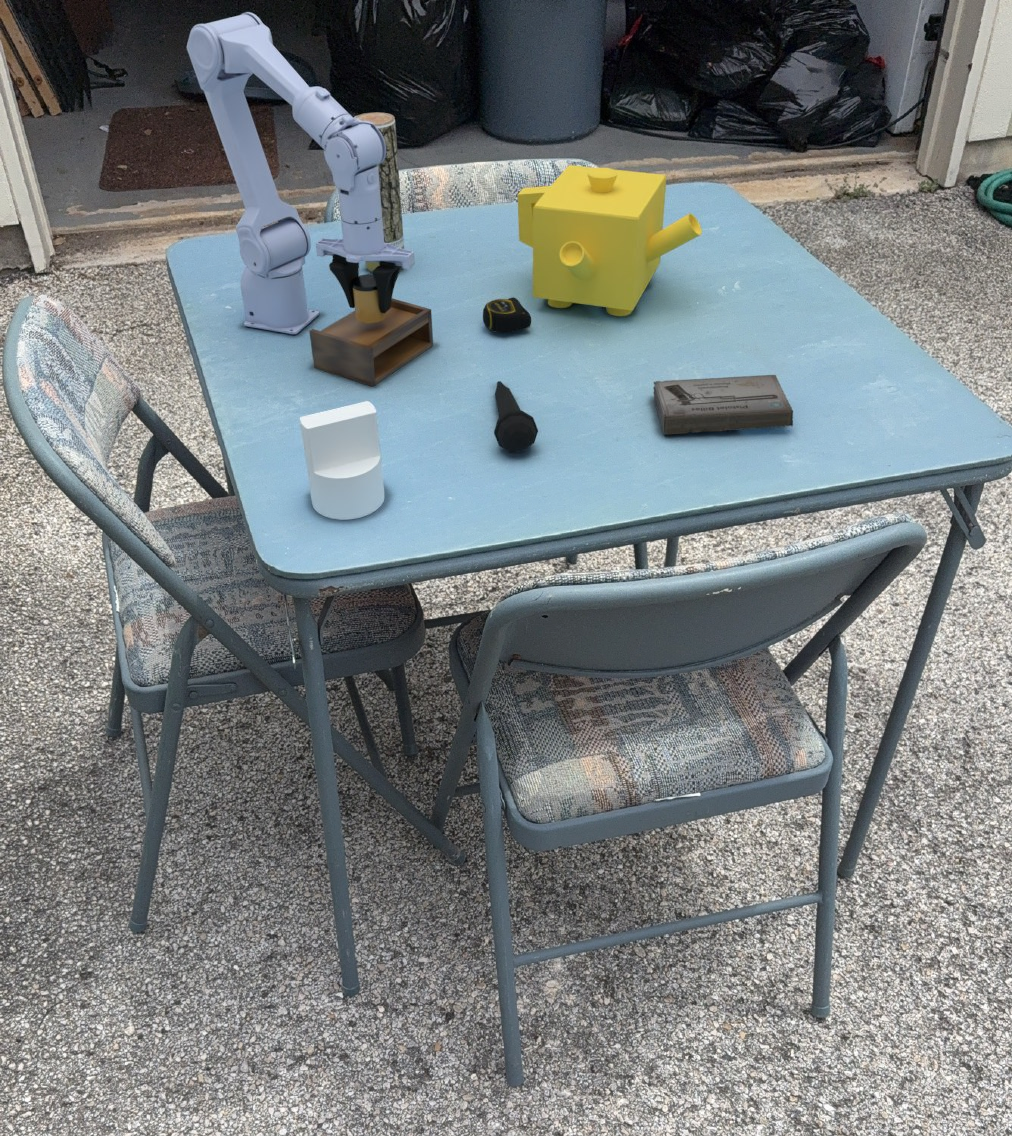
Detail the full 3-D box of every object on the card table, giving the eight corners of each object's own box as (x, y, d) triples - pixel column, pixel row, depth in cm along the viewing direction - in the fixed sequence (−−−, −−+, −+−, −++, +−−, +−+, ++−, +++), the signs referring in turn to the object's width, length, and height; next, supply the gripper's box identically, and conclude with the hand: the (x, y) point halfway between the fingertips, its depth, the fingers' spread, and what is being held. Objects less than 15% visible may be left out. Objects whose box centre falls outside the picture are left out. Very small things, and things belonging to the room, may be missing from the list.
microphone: (488, 407, 164) (506, 466, 147) (474, 372, 161) (491, 429, 144) (523, 393, 164) (546, 451, 147) (510, 358, 161) (531, 413, 144)
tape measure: (532, 334, 176) (533, 311, 173) (490, 340, 174) (490, 318, 172) (518, 315, 181) (518, 293, 178) (477, 322, 179) (477, 299, 177)
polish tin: (349, 321, 165) (345, 285, 162) (363, 308, 169) (360, 272, 165) (378, 325, 164) (374, 289, 161) (391, 312, 168) (388, 276, 164)
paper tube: (413, 265, 197) (403, 116, 181) (389, 279, 192) (377, 128, 177) (382, 257, 200) (369, 110, 184) (358, 270, 195) (343, 121, 180)
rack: (313, 367, 168) (309, 330, 164) (376, 328, 178) (373, 292, 174) (372, 386, 163) (368, 349, 160) (433, 345, 173) (431, 309, 169)
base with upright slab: (325, 527, 136) (313, 441, 129) (302, 489, 143) (290, 406, 135) (395, 508, 139) (387, 423, 132) (370, 471, 146) (361, 389, 138)
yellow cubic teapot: (671, 355, 170) (682, 224, 157) (485, 329, 177) (482, 201, 165) (714, 264, 196) (727, 145, 183) (551, 244, 203) (552, 128, 191)
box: (792, 430, 151) (795, 409, 149) (663, 436, 151) (664, 416, 149) (775, 392, 160) (777, 372, 158) (652, 398, 160) (653, 378, 158)
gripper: (301, 220, 156) (312, 311, 165) (396, 233, 152) (403, 326, 161) (325, 202, 162) (335, 292, 170) (418, 215, 157) (423, 306, 166)
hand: (369, 307), depth 166 cm, fingers closed on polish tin, 4 cm apart
